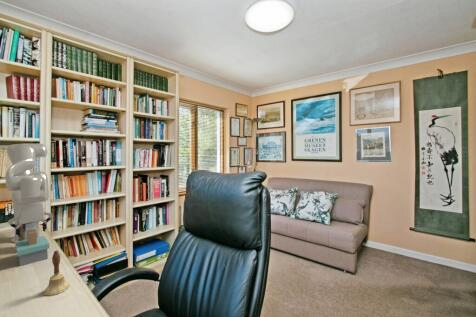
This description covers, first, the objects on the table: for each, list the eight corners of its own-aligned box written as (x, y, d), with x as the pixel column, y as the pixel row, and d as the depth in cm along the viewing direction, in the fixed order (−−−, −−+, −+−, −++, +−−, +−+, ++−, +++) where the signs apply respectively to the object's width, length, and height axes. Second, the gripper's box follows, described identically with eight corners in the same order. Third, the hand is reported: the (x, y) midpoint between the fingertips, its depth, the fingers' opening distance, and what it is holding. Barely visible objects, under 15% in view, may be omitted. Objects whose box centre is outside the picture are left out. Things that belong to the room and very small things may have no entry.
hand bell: (74, 285, 94) (73, 248, 93) (52, 298, 86) (51, 257, 85) (61, 281, 96) (60, 245, 96) (38, 293, 89) (37, 253, 88)
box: (17, 256, 118) (17, 243, 118) (43, 250, 126) (43, 238, 126) (19, 266, 109) (19, 252, 109) (47, 258, 117) (47, 245, 116)
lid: (15, 246, 118) (14, 230, 118) (44, 240, 127) (44, 225, 127) (17, 256, 108) (17, 238, 108) (49, 248, 117) (48, 232, 116)
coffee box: (18, 248, 128) (17, 220, 128) (32, 244, 134) (31, 217, 133) (25, 252, 124) (24, 223, 124) (39, 247, 130) (38, 220, 129)
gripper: (51, 197, 125) (52, 227, 126) (6, 202, 113) (7, 236, 113) (53, 198, 120) (54, 230, 121) (7, 204, 108) (8, 239, 108)
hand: (31, 233), depth 117 cm, fingers open, 9 cm apart
